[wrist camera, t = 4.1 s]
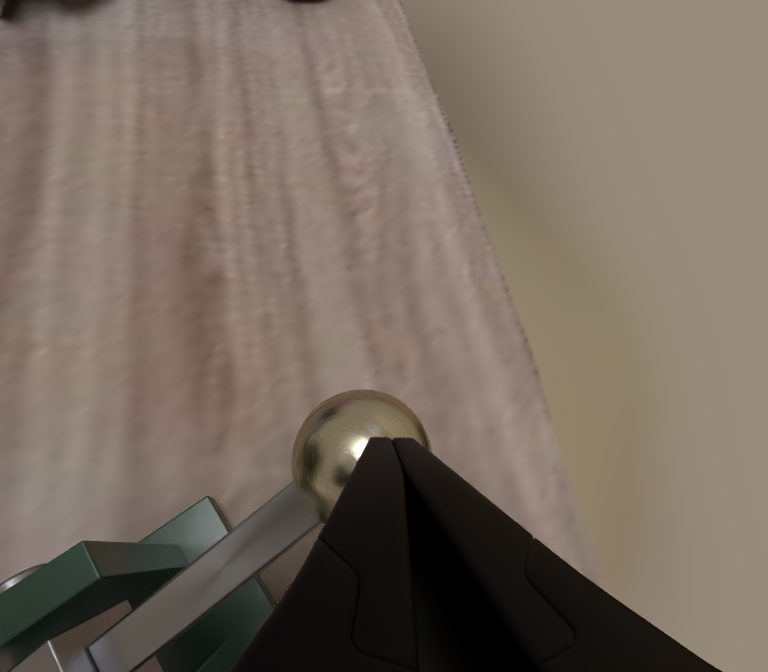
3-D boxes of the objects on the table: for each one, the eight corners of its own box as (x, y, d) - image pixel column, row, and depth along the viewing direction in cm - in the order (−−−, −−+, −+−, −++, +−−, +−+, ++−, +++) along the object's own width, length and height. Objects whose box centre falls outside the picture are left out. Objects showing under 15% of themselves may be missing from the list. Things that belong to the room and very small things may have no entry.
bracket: (213, 497, 20) (139, 457, 12) (300, 644, 19) (290, 729, 10) (20, 629, 18) (-273, 708, 9) (101, 818, 16) (-166, 1156, 7)
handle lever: (387, 369, 12) (359, 352, 9) (463, 467, 12) (459, 484, 9) (54, 636, 13) (-78, 704, 10) (105, 750, 12) (-23, 862, 9)
